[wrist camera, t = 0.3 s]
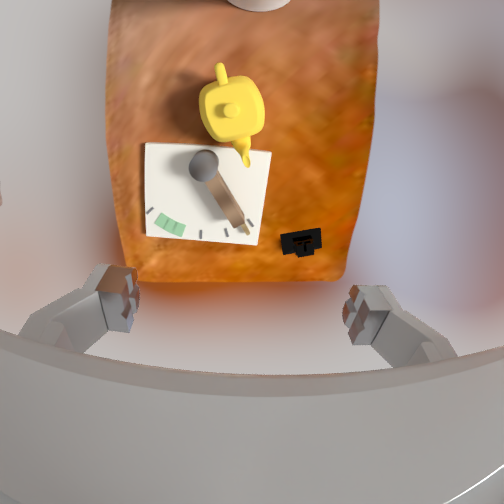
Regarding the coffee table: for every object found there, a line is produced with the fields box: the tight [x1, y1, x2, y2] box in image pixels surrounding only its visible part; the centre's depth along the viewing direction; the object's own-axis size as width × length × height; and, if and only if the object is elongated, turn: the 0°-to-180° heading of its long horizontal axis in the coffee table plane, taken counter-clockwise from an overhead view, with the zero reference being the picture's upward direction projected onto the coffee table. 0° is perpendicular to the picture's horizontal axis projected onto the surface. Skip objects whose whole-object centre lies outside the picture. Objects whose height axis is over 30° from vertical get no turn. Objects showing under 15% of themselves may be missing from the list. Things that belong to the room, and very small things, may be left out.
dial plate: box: [145, 142, 271, 245], centre depth 56 cm, size 20×24×2 cm
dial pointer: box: [189, 149, 250, 235], centre depth 53 cm, size 20×5×4 cm, turn 28°
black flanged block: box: [280, 228, 322, 258], centre depth 62 cm, size 12×7×5 cm, turn 100°
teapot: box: [199, 63, 265, 168], centre depth 44 cm, size 18×11×11 cm, turn 15°
